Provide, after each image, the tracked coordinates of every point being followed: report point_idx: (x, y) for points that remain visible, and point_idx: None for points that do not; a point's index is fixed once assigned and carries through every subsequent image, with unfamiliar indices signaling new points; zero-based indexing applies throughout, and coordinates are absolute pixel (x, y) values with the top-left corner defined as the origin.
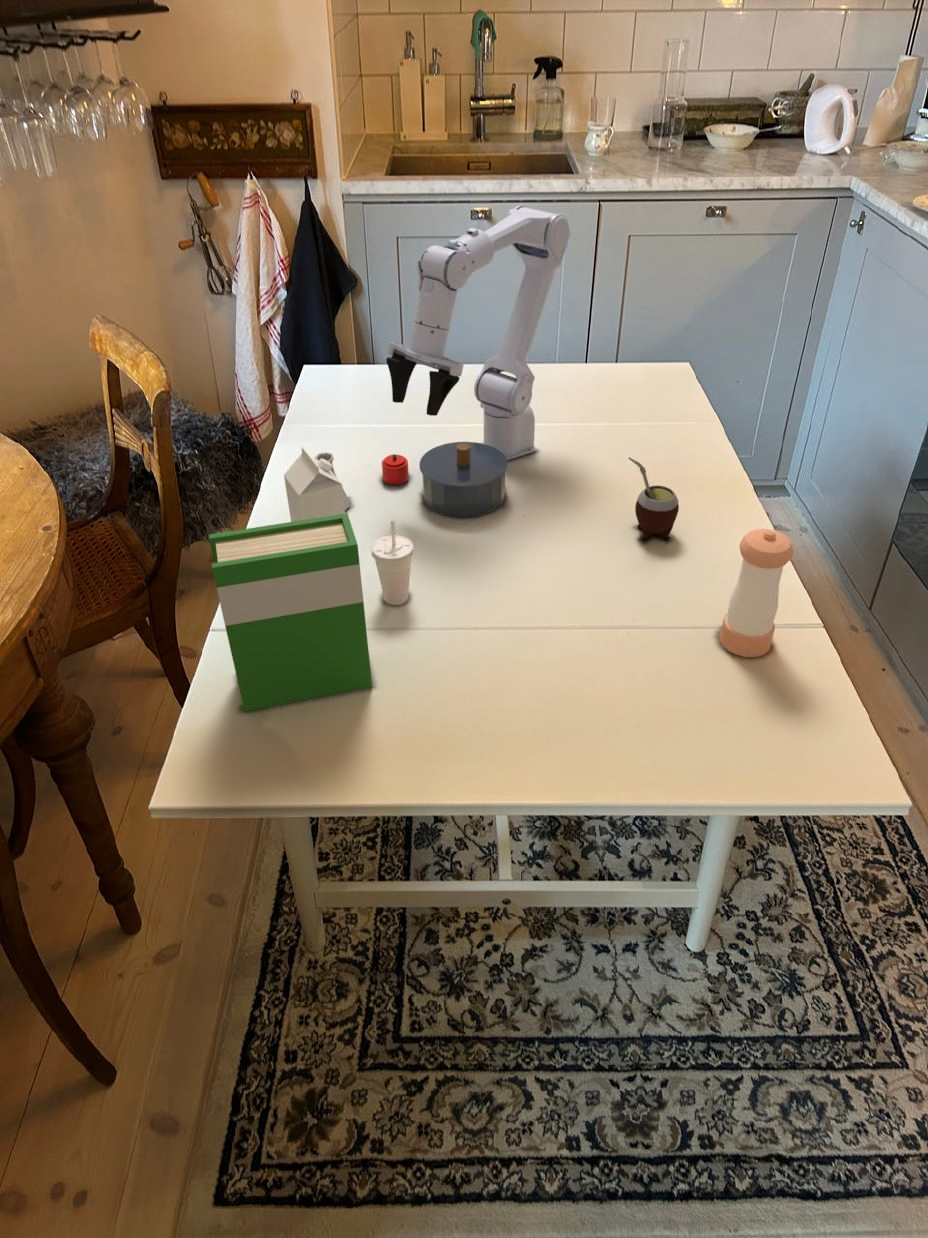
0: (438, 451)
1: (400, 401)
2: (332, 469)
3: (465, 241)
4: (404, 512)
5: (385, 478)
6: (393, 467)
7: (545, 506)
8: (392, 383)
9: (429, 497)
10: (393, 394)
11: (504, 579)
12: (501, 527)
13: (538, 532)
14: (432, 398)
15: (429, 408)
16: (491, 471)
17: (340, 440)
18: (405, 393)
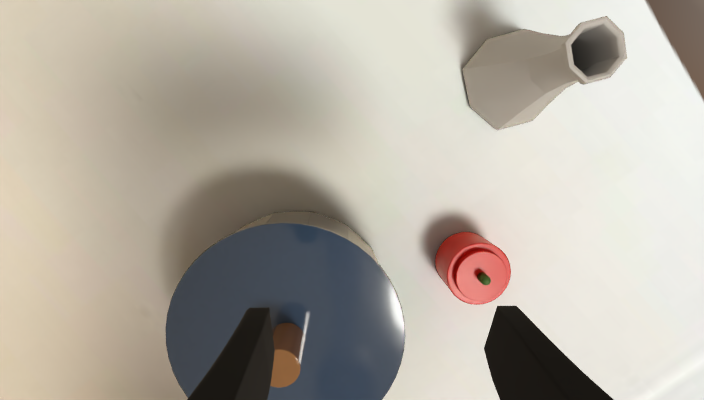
0: (380, 343)
1: (489, 338)
2: (547, 67)
3: None
4: (356, 167)
5: (473, 234)
6: (464, 252)
7: (136, 366)
8: (586, 382)
9: (322, 220)
10: (531, 331)
11: (9, 99)
12: (151, 250)
13: (79, 282)
14: (204, 385)
15: (239, 329)
16: (198, 349)
17: (673, 305)
18: (501, 397)
